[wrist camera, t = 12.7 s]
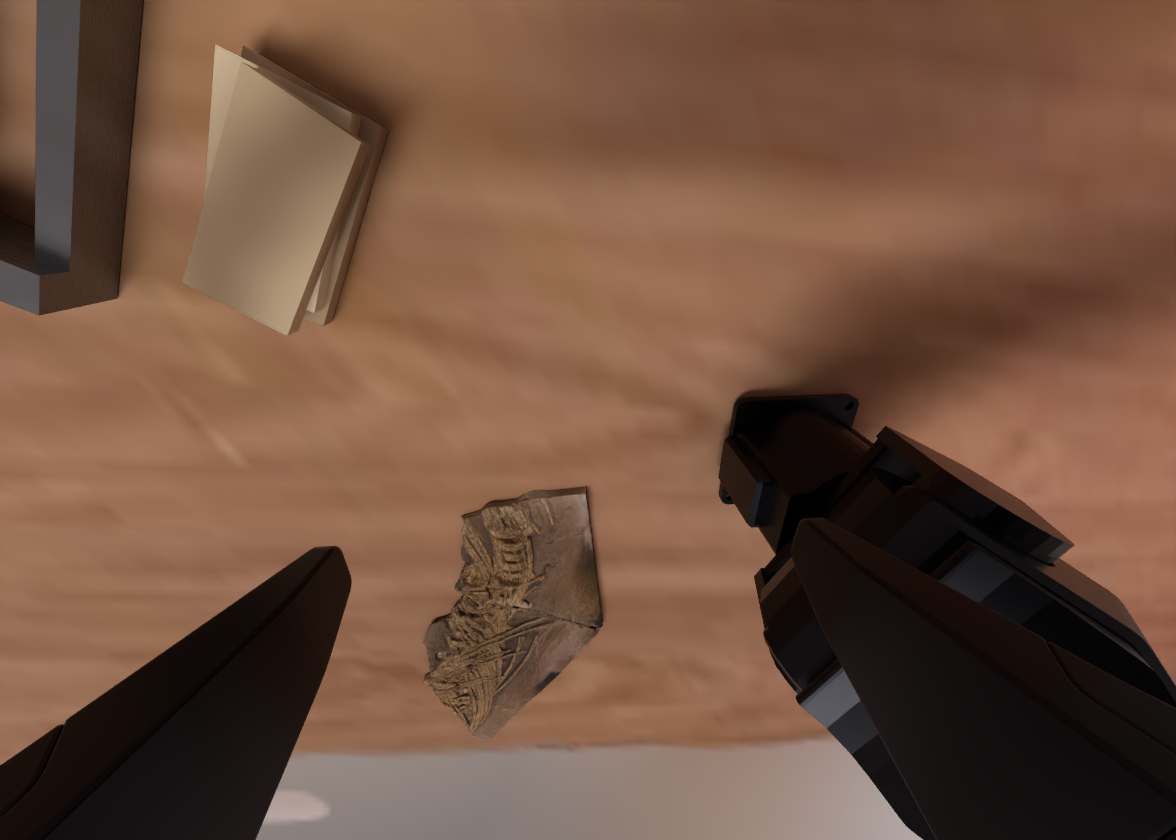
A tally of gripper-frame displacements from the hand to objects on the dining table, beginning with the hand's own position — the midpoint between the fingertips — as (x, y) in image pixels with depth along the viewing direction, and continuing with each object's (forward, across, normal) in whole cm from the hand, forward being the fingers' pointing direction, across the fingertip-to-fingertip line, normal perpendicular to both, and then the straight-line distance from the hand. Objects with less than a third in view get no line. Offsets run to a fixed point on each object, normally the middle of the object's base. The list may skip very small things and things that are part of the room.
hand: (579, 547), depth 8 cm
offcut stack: (+13, +10, -6) cm, 17 cm away
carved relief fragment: (+14, +4, +20) cm, 25 cm away
